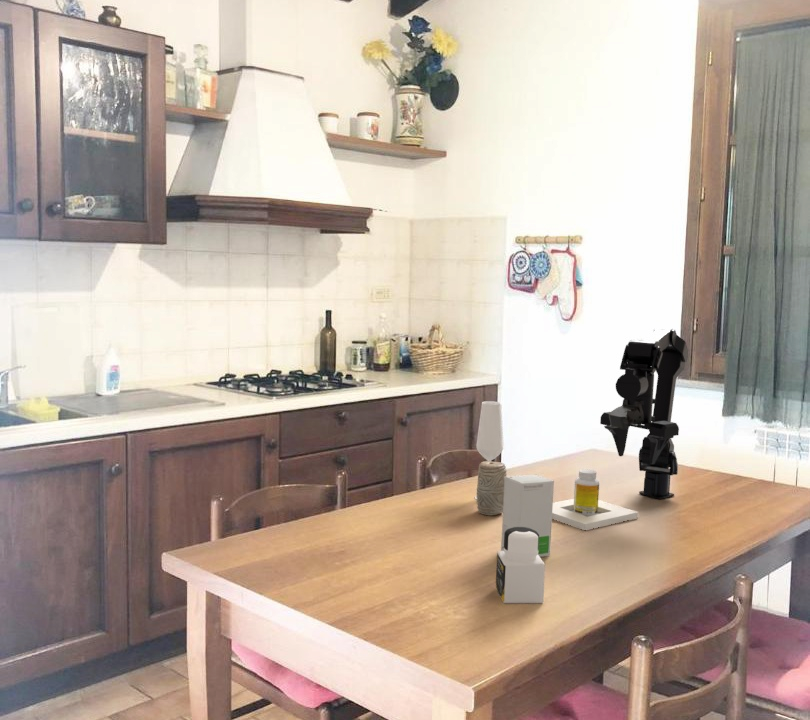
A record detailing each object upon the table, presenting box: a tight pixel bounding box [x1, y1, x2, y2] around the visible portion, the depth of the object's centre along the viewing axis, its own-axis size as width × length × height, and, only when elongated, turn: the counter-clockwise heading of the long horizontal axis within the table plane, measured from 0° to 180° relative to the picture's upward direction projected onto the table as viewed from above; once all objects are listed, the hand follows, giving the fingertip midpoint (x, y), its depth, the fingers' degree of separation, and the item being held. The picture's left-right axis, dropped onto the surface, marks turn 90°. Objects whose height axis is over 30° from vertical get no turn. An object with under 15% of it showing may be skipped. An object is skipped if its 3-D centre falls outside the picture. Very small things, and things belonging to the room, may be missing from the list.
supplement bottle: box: [573, 468, 600, 517], centre depth 205 cm, size 6×6×10 cm
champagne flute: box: [474, 400, 504, 500], centre depth 216 cm, size 7×7×24 cm
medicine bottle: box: [495, 527, 546, 604], centre depth 154 cm, size 7×7×12 cm
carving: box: [476, 460, 508, 517], centre depth 204 cm, size 6×8×12 cm
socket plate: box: [552, 498, 639, 531], centre depth 205 cm, size 18×16×2 cm
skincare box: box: [500, 474, 555, 558], centre depth 177 cm, size 8×7×16 cm
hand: (636, 459), depth 206 cm, fingers open, 9 cm apart
